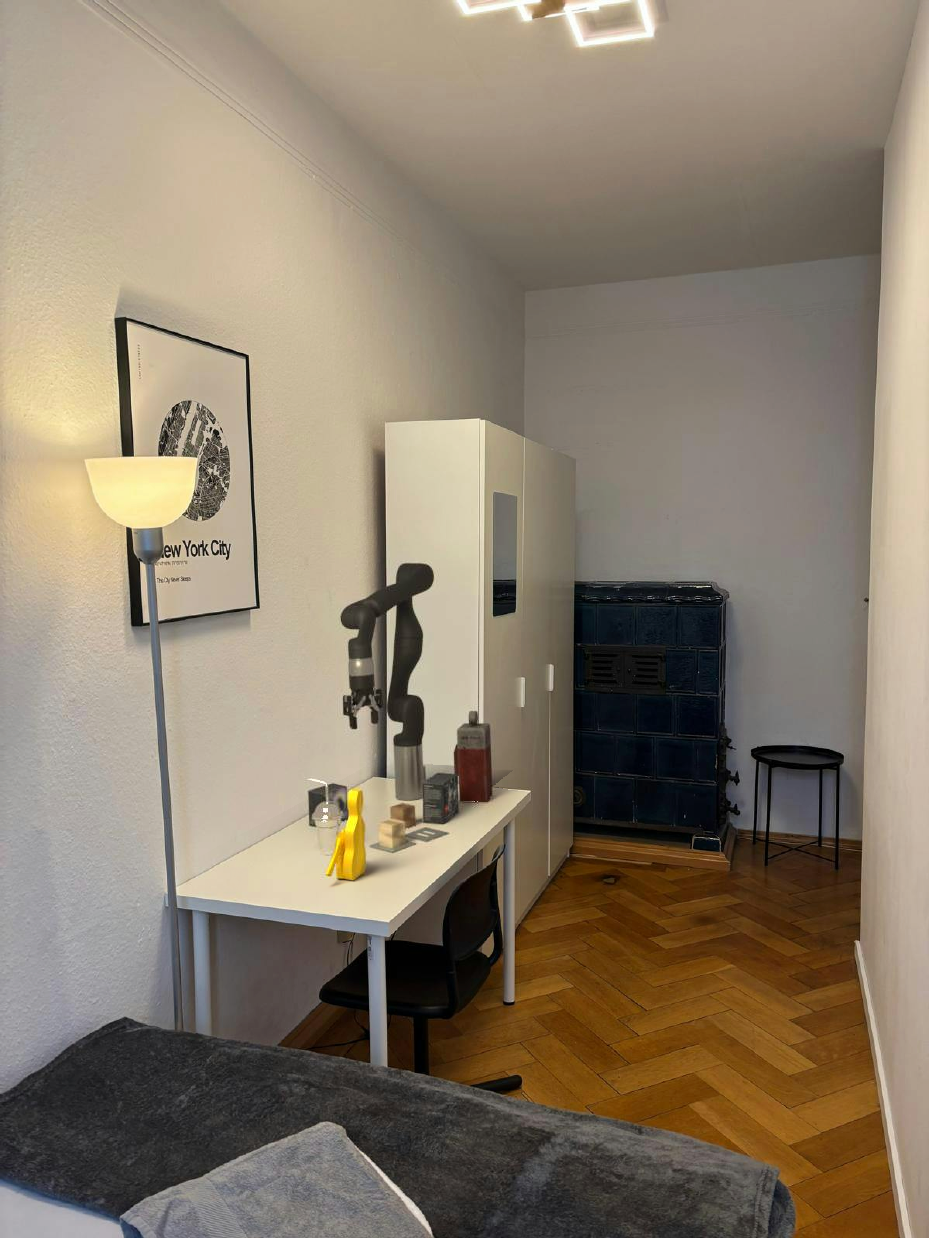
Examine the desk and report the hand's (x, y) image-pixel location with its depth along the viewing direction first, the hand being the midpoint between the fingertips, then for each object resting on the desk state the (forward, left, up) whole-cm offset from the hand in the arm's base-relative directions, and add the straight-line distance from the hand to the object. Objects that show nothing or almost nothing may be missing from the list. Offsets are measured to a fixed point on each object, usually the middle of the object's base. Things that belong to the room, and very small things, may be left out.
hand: (364, 726), depth 286 cm
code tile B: (+16, +27, -27) cm, 41 cm away
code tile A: (+4, +28, -27) cm, 39 cm away
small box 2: (-11, +20, -28) cm, 36 cm away
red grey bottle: (-32, +14, -27) cm, 44 cm away
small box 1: (+12, -4, -28) cm, 30 cm away
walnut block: (+2, +17, -27) cm, 32 cm away
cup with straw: (+30, +17, -27) cm, 44 cm away
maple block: (+16, +27, -27) cm, 41 cm away
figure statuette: (+39, +36, -28) cm, 59 cm away
